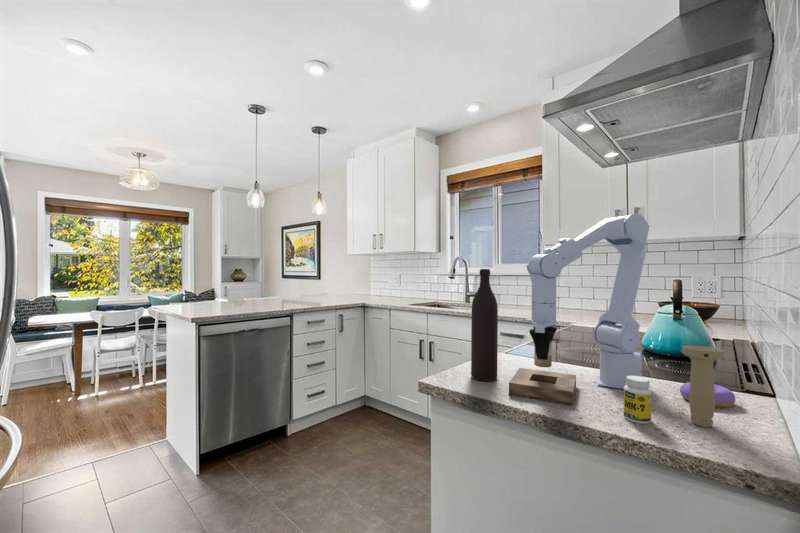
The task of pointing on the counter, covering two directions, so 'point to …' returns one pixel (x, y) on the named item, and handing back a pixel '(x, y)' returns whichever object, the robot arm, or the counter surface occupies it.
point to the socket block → (543, 386)
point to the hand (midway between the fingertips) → (543, 357)
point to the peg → (543, 362)
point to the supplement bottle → (637, 400)
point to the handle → (702, 383)
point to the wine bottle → (484, 331)
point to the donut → (721, 395)
